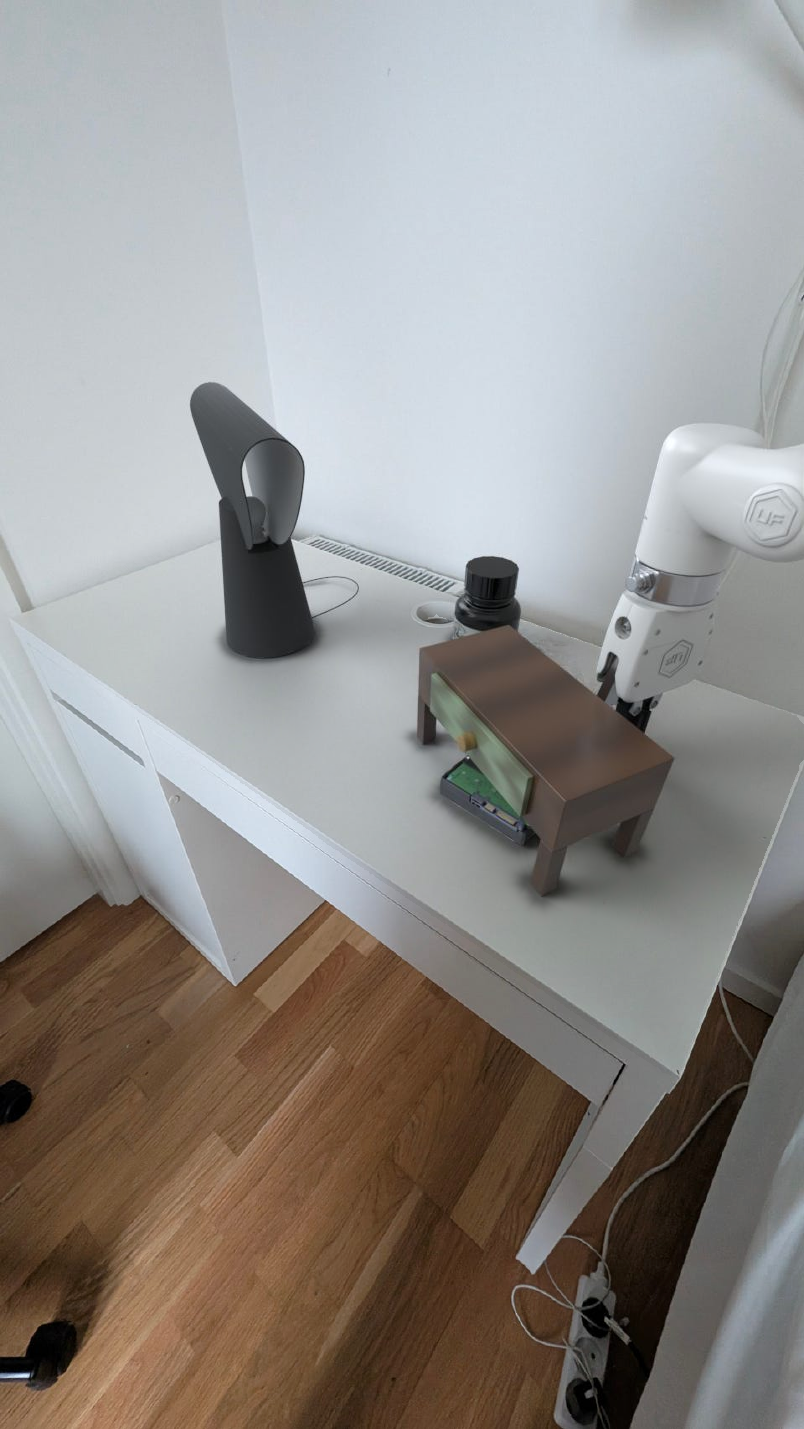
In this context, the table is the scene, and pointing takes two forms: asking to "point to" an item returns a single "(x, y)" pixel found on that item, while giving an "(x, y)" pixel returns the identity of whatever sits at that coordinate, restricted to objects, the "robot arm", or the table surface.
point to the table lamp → (255, 525)
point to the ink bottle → (487, 597)
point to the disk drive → (483, 800)
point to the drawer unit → (541, 743)
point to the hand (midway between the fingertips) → (626, 733)
